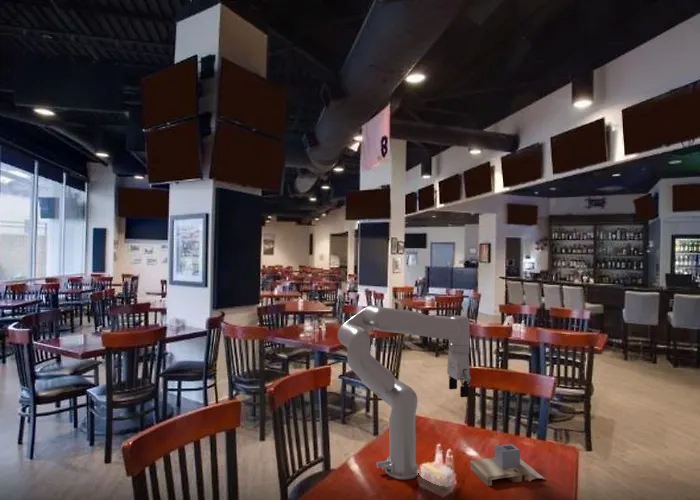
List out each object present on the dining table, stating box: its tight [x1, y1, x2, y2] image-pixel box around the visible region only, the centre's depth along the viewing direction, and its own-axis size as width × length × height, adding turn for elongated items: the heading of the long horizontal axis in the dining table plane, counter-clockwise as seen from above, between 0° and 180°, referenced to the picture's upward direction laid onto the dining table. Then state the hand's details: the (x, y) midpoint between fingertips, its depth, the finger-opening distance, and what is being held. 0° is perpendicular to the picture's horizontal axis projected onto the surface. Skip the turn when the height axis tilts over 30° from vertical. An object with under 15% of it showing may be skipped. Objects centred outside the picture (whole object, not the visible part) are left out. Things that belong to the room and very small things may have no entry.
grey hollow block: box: [494, 443, 521, 469], centre depth 161 cm, size 7×5×6 cm
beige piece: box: [520, 458, 546, 482], centre depth 167 cm, size 24×7×2 cm, turn 11°
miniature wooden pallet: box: [469, 457, 529, 487], centre depth 160 cm, size 16×12×3 cm
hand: (458, 392), depth 172 cm, fingers open, 9 cm apart
